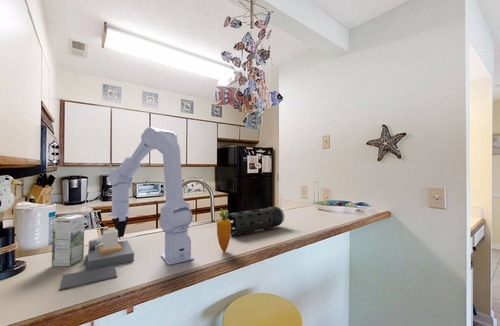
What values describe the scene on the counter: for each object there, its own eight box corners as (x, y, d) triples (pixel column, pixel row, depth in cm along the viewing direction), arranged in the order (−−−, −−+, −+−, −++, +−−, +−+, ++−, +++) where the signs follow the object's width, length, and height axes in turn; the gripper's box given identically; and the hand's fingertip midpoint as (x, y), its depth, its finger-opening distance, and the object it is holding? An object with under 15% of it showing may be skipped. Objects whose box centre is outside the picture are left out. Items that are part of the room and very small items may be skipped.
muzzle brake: (225, 234, 103) (225, 211, 103) (272, 225, 120) (272, 205, 120) (236, 239, 95) (236, 214, 96) (285, 229, 112) (285, 207, 112)
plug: (121, 257, 76) (121, 231, 77) (99, 261, 73) (99, 234, 73) (119, 251, 81) (119, 228, 82) (99, 255, 78) (99, 230, 78)
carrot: (232, 253, 79) (232, 209, 80) (218, 255, 78) (217, 210, 78) (229, 249, 84) (229, 207, 84) (215, 250, 83) (215, 208, 83)
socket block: (133, 260, 74) (133, 252, 74) (87, 270, 67) (87, 261, 67) (127, 246, 87) (127, 240, 87) (88, 253, 80) (88, 246, 80)
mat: (116, 277, 63) (116, 275, 63) (59, 290, 56) (59, 289, 56) (114, 265, 70) (114, 264, 70) (63, 276, 63) (63, 275, 63)
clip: (118, 236, 91) (118, 229, 91) (92, 250, 76) (93, 241, 76) (113, 237, 91) (113, 229, 91) (87, 250, 76) (87, 241, 76)
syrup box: (66, 259, 76) (67, 214, 76) (84, 259, 76) (84, 214, 76) (51, 266, 70) (51, 218, 70) (70, 266, 70) (70, 218, 70)
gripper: (107, 200, 94) (107, 234, 93) (109, 204, 82) (109, 243, 81) (126, 198, 98) (126, 231, 97) (132, 202, 86) (131, 239, 85)
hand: (120, 236), depth 89 cm, fingers closed
